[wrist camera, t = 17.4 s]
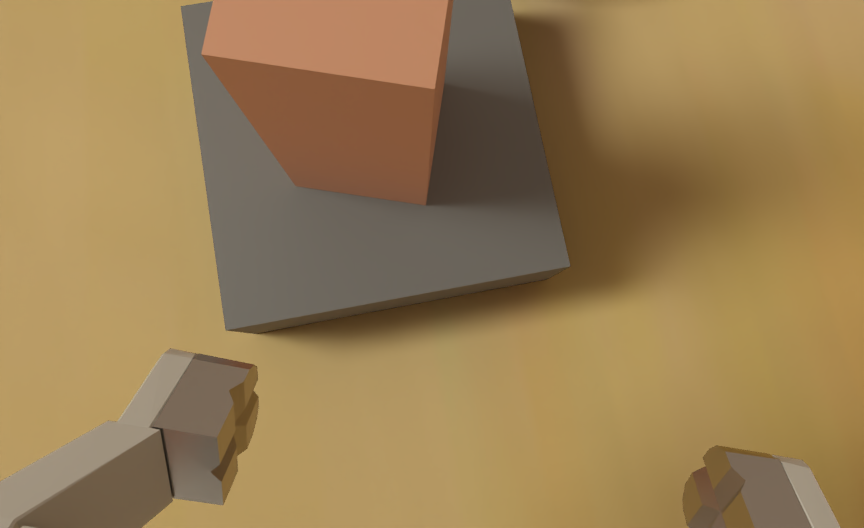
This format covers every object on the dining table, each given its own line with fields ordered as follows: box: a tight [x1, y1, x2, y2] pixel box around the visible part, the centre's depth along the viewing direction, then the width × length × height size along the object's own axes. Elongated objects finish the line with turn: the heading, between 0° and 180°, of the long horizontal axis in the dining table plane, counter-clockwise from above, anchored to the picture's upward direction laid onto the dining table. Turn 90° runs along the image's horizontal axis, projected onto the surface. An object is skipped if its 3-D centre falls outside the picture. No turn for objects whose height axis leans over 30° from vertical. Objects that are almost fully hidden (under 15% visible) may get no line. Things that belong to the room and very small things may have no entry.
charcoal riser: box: [181, 0, 570, 334], centre depth 25 cm, size 13×13×4 cm
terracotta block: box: [201, 0, 453, 205], centre depth 18 cm, size 5×5×10 cm
